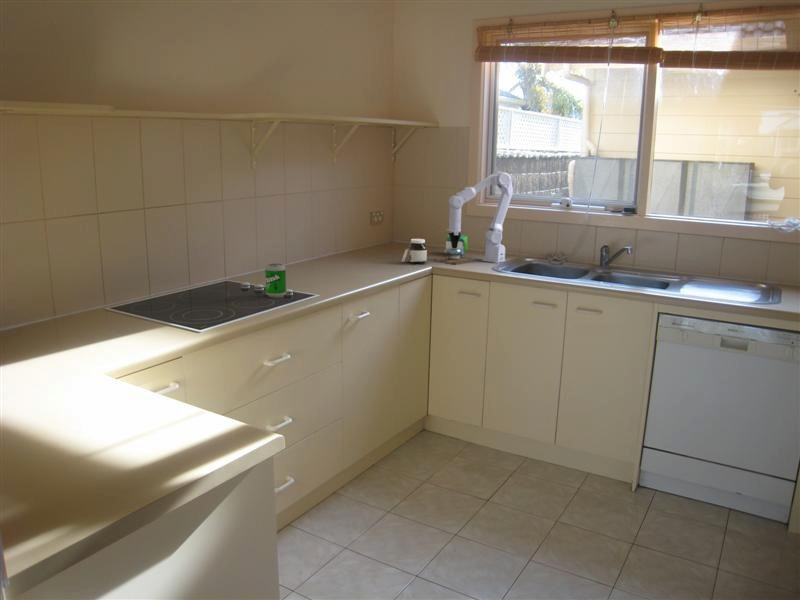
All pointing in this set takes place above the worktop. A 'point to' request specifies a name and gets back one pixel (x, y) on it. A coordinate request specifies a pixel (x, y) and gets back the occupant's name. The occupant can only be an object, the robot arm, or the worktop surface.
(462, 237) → the snack cup
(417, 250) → the spread jar
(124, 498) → the worktop surface
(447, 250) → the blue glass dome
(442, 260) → the base plate
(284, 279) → the soda can
